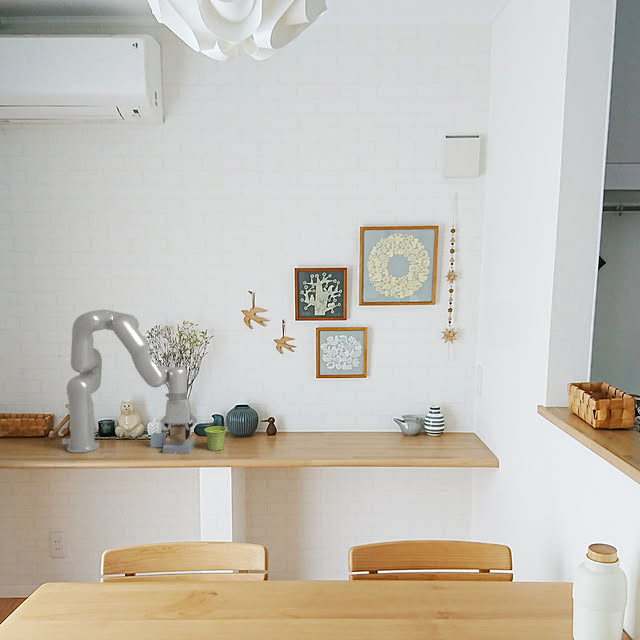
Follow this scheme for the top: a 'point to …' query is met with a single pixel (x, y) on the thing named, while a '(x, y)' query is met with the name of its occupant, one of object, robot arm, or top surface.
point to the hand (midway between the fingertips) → (179, 437)
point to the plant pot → (215, 437)
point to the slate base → (179, 446)
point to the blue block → (158, 439)
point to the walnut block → (177, 433)
